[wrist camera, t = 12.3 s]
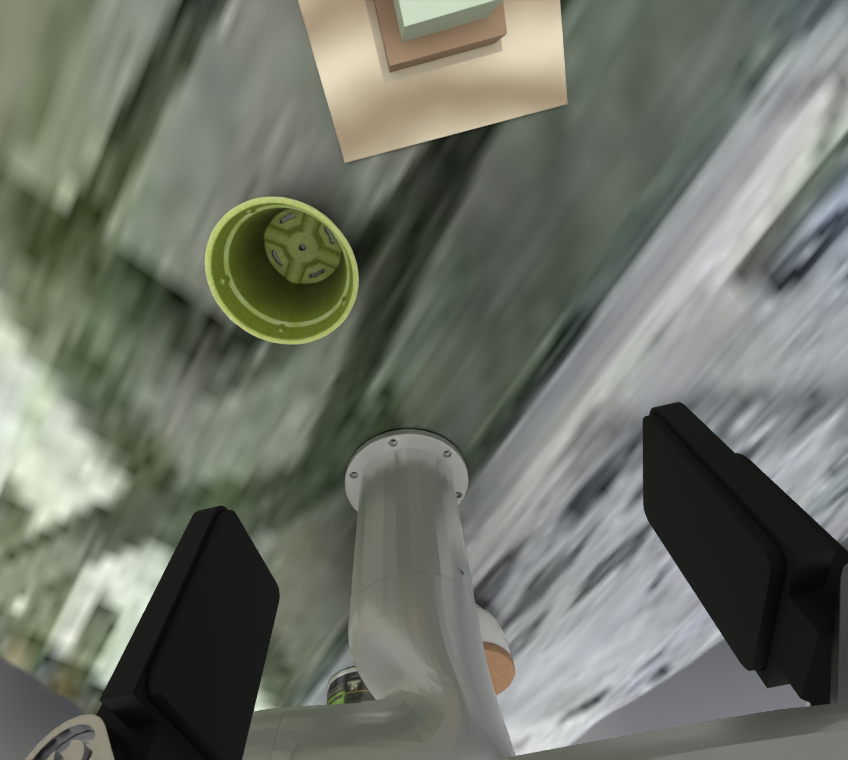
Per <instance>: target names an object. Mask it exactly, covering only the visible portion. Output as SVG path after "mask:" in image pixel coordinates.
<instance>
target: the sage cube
mask: <svg viewBox="0 0 848 760" xmlns="http://www.w3.org/2000/svg"><path fill="white" fill-rule="evenodd" d="M502 1H503V0H393V3H394V7H395V12H396V16H397V21H398V26H399V30H400V35H401V39H402V42H405V41H409V40H412V39H416V38H419V37H422V36H426V35H429V34H433V33H436V32H440V31H443V30H446V29H450V28H453V27H457V26H460V25H464V24H467V23H470V22H474V21H477V20H481V19H484V18H487V17H488V16H489V15H490V14H491V13H492V12H493V11H494V10H495V9H496V8H497V7H498V5H499V4H500V3H501V2H502Z"/></svg>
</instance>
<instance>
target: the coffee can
mask: <svg viewBox="0 0 848 760" xmlns="http://www.w3.org/2000/svg"><path fill="white" fill-rule="evenodd" d="M373 700H375V698H374V697H373V695H372V694H371V693H370V691H369V690H368V688H367V687H366V685H365V683H364V682H363V680H362V679H361V677H360V675H359V673H358V671H357V669H356V667H351V668H347V669H345V670H342V671H340V672H338V673H337V674H335V675H334V676H333V677H332V678H331V680H330V681H329V683H328V694H327V703H326V705H332V704H349V703H361V702H362V701H373Z"/></svg>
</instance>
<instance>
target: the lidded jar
mask: <svg viewBox="0 0 848 760" xmlns="http://www.w3.org/2000/svg"><path fill="white" fill-rule="evenodd" d="M475 604H476V603H475ZM476 609H477V615H478V621H479V626H480V631H481V636H482V641H483V646H484V651H485V656H486V660H487V664H488V669H489V673H490V677H491V681H492V684H493V688H494V691H495V695H498V694H499V693H501V692H502V691H504V690H505V689H506V688H507V687H508V686H509V685H510V684H511V682H512V680H513V678H514V675H515V667H514V663H513V659H512V657H511V654H510V650H509V646H508V642H507V640H506V637H505V634H504V632H503V630H502V628H501V626H500V625H499V623H498V622H497V620H496V619H495V618H494V617H493V616H492V615H491V614H490V613H489V612H487V611H486V610H485V609H483V608H481V607H480V606H479V605H478V604H476Z"/></svg>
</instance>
